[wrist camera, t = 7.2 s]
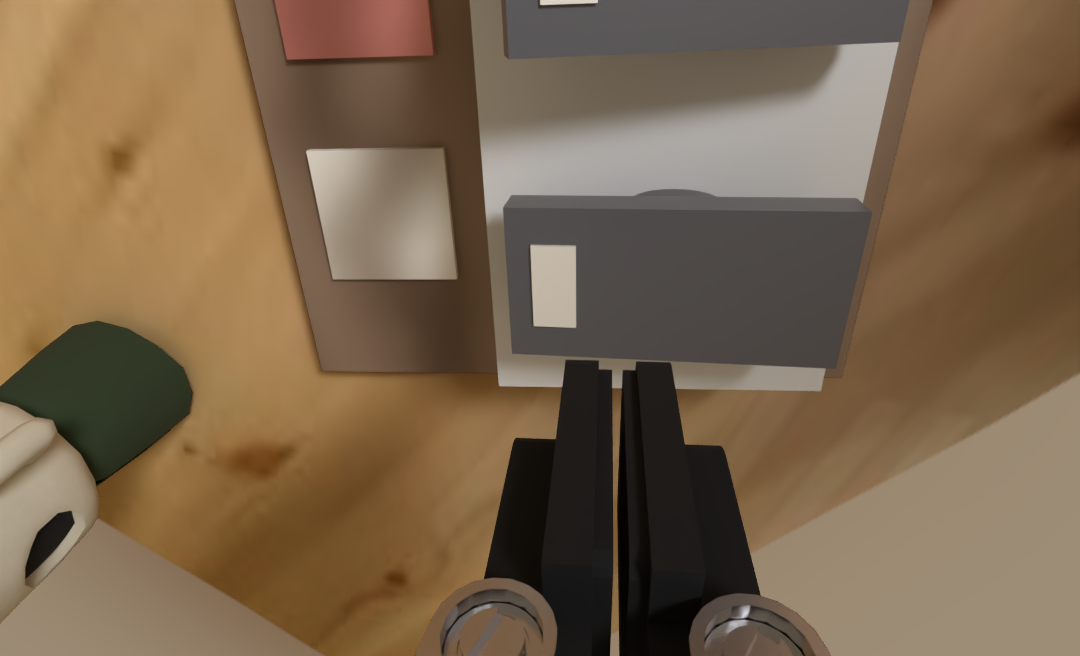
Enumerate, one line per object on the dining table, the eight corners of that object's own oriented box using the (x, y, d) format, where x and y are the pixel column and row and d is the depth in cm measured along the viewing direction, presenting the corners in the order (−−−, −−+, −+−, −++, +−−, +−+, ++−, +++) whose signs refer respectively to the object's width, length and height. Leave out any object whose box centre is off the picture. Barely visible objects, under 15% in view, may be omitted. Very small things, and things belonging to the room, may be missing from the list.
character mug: (138, 471, 32) (-117, 731, 20) (14, 381, 30) (-351, 617, 18) (260, 363, 28) (31, 609, 16) (128, 250, 26) (-243, 444, 14)
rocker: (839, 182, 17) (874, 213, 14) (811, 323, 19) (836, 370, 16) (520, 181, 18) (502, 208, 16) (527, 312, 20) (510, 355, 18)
